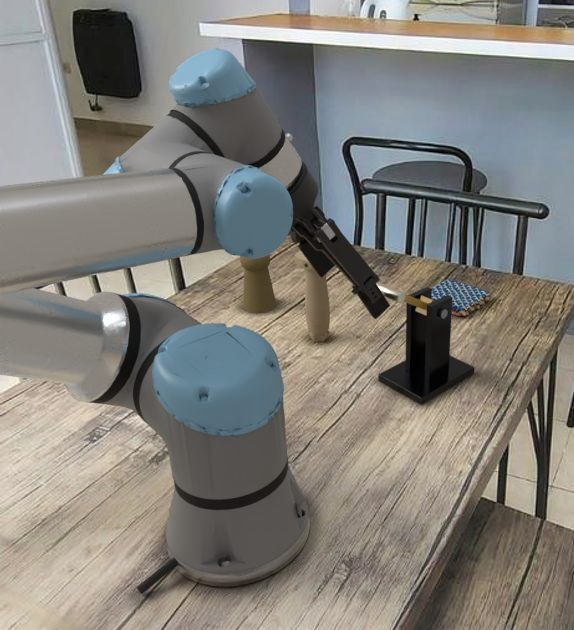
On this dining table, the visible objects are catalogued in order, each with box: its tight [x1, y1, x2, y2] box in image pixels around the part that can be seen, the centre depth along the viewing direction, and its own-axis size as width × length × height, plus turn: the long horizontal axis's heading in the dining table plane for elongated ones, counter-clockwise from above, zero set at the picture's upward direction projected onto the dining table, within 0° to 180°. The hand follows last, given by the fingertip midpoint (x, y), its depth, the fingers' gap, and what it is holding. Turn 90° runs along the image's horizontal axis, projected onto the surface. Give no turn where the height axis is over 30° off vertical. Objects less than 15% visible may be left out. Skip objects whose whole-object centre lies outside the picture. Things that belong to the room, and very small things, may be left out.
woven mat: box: [431, 278, 491, 317], centre depth 127 cm, size 10×11×2 cm
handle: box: [294, 250, 331, 343], centre depth 111 cm, size 5×6×15 cm
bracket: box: [377, 286, 475, 406], centre depth 101 cm, size 12×9×14 cm
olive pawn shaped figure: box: [239, 254, 277, 314], centre depth 122 cm, size 6×6×11 cm
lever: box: [376, 281, 434, 316], centre depth 95 cm, size 13×7×2 cm
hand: (353, 290), depth 95 cm, fingers open, 13 cm apart
